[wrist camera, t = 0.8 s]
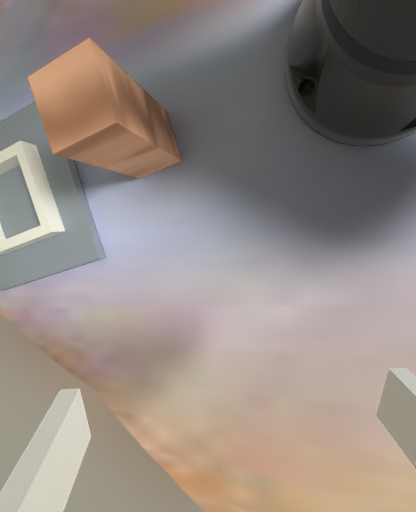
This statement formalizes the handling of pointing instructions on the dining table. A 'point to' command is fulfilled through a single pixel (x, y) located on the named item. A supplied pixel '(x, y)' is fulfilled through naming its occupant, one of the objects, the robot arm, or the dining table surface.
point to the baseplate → (40, 206)
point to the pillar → (102, 114)
